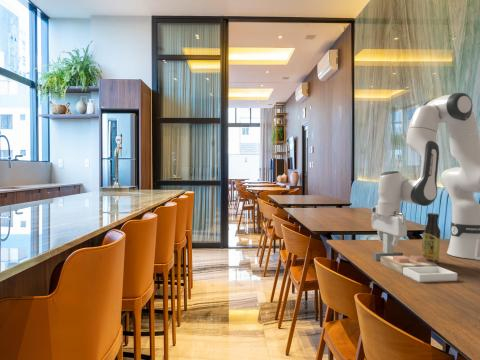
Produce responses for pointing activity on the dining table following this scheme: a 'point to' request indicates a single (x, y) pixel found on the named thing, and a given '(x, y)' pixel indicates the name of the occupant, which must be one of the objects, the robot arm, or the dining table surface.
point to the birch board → (398, 266)
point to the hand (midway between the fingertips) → (387, 243)
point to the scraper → (386, 248)
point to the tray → (429, 274)
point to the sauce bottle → (431, 239)
